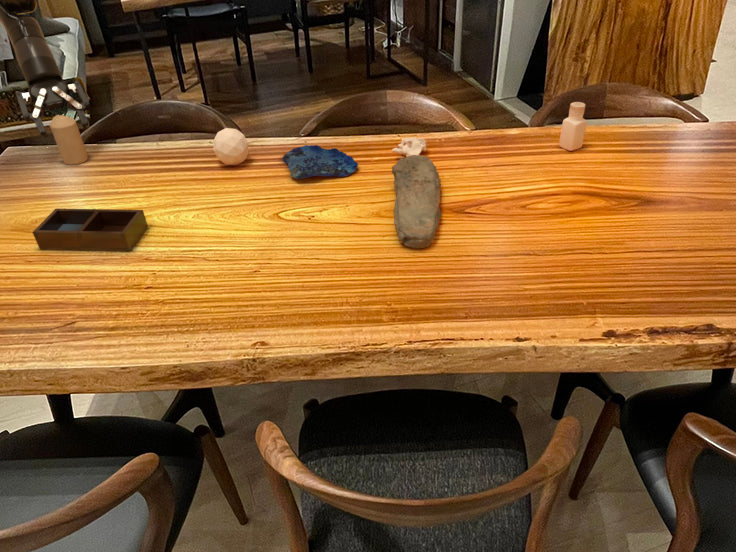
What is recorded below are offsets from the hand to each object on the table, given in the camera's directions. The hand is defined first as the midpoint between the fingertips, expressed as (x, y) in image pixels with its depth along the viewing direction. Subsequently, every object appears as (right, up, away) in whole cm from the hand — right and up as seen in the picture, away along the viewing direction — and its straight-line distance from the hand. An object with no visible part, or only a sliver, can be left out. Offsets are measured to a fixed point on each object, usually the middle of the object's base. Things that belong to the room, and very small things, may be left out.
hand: (65, 131), depth 141 cm
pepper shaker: (+115, -3, +1) cm, 115 cm away
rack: (+17, -29, -23) cm, 41 cm away
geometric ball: (+38, -7, 0) cm, 39 cm away
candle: (0, -5, +4) cm, 7 cm away
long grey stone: (+78, -22, -17) cm, 83 cm away
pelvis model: (+78, -5, +1) cm, 78 cm away
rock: (+57, -9, -2) cm, 58 cm away
